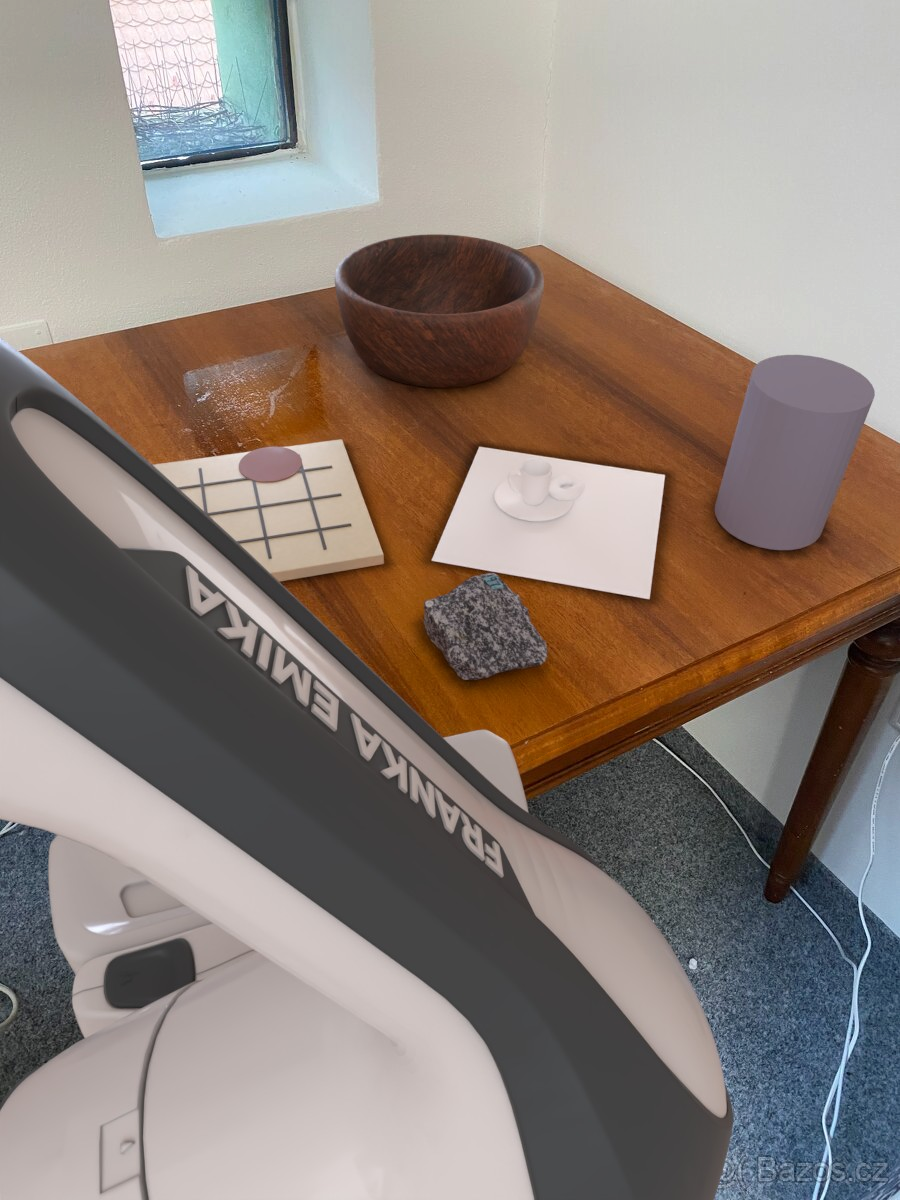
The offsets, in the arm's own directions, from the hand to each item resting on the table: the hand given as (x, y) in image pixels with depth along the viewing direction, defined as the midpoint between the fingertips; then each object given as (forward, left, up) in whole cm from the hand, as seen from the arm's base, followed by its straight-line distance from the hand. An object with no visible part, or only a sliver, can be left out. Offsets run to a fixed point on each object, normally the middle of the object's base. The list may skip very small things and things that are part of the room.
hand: (278, 715), depth 43 cm
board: (+2, +41, -18) cm, 45 cm away
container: (+50, +28, -18) cm, 60 cm away
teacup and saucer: (+30, +34, -18) cm, 49 cm away
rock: (+18, +19, -18) cm, 32 cm away
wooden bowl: (+28, +70, -18) cm, 78 cm away
